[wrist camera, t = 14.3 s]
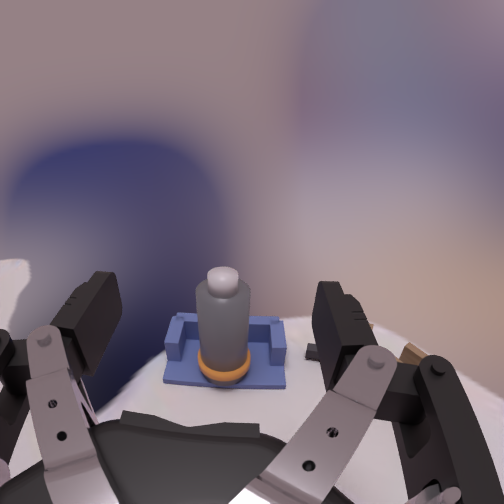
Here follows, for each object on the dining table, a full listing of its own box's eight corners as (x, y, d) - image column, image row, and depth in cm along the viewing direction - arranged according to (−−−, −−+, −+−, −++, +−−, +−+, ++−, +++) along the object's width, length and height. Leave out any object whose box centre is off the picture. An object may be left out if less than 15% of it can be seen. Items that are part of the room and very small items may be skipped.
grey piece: (189, 375, 28) (178, 280, 23) (215, 346, 32) (212, 254, 27) (234, 396, 26) (235, 299, 21) (258, 362, 30) (265, 268, 25)
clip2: (394, 406, 25) (411, 377, 23) (373, 389, 27) (387, 359, 26) (415, 386, 27) (431, 357, 25) (396, 371, 29) (409, 342, 28)
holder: (285, 388, 28) (289, 367, 27) (163, 382, 28) (158, 360, 26) (279, 338, 35) (282, 316, 33) (176, 334, 34) (173, 312, 33)
